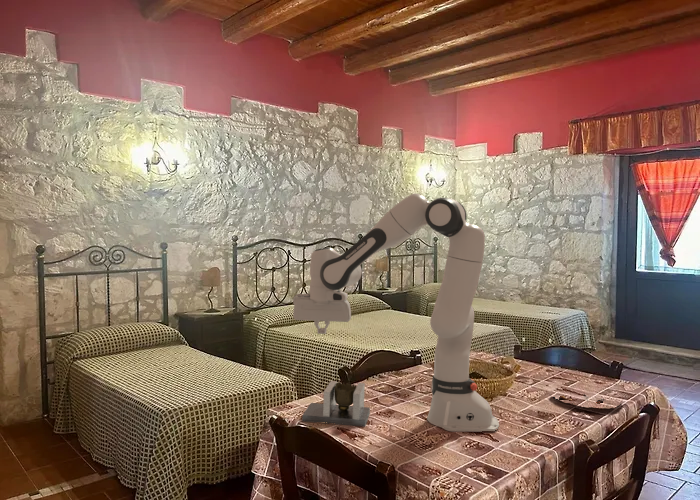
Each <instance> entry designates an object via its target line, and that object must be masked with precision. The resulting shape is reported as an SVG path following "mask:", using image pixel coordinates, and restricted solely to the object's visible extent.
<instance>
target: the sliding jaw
mask: <svg viewBox="0 0 700 500" xmlns="http://www.w3.org/2000/svg"><path fill="white" fill-rule="evenodd" d="M336 383H337V384H338V381H336V380H335V381H334V380H331V381H330V382H329V384H328V385H327V386H326V388H325V389H324V391H323V403H322V404H323V416H326V417H330V415H331V413H332V411H333V409H334V408H335V406H336V405H337V403H336V401H335V394H334V385H335V384H336Z"/></svg>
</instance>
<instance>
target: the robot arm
mask: <svg viewBox="0 0 700 500" xmlns="http://www.w3.org/2000/svg"><path fill="white" fill-rule="evenodd" d="M466 210H467V209H465V207H464V206H463V204H461V203H460V202H459V201H458V200H456V199H454V198H450V197H438V198H436V199H435V198H434V200H432V201H430V200H428V199H427V198H426V197H425V196H424V195H423V194H420V193H412V194H410V195H408V196H406V197H404V199H402V200H400V201H399V202H397V203H396V204H395V205H394V206H393V207H392V208H390V209H389V210H388V211H386V212H385V214H384V215H383V216H382V217H381V218H380V220H378V221H377V223H376V224H375V225H374V226H373V227H372V228H370V229H369V231H368V232H367V233H366V234H365V235H364V236H362V237H361V238H360V239H359V240H358V241H356V242H355V243H354V244H353V245H352V246H351V247H349V248H348V249H347V250H346V251H344V253H342V254H341V253H339V252H337V251H336V250H335V249H334V248H333V247H322V248H318V249H314V250H313V251H312V253H311V256H310V263H309V264H310V265H309V276H310V283H309V293H297V294H295V295H293V299H292V302H293V303H292V304H293V313H292V318H293V319H294V320H295V321H309V322H310V321H311V322H312V321H313V322H314V323H313V324H314V326H315V328H316V329H317V330H316V331H317V334H318V335H326V334H327V329H328V327H329V325H330V324H331V323H330V322H336V323H337V322H340V323H342V322H343V323H348V322H349V321H351V319H352V309H351V303H350V301H349V300H348V298H349V296H348V293H347V292H345V291H341V289H343V288H346V287H349V286H352V285H355V284H356V283H358V282H359V281H360V280H361V278H362V275H363V269H362V264H363V263H365V262H366V261H367V260H368V259H370V258H371V257H372V256H373V255H375V254H377V253H379V252H381V251H384V250H387V249H391V248H394V247H397V246H398V245H400V244H403V243H404V242H405V241H406V240H408V239H409V238H411V236H413V235H414V234H415V233H416V232H417V231H418V230H420V229H421V228H422V227H424V226H429V228H430V229H432V230H433V231H435V232H437V233H439V234H440V235H443V236H445V238H448V240H449V241H448V242H449V244H448V245H449V246H448V250H447V251H448V252H447V257H446V261H445V264H444V265H445V266H444V272H443V276H442V277H443V278H442V280H441V284H440V286H439V289H438V293H437V297H436V298H435V303H434V307H433V310H432V313H431V317H430V324H429V325H430V327H431V330H432V332H434V334H435V335H437V340H436V346H435V350H434V362H433V363H434V364H433V365H434V366H433V375H432V378H431V394H432V396H431V397H432V398H431V402H430V406H429V407H430V408H429V411H428V415H427V417H426V419H427V421H428V422H429V423H430V424H432V425H434V426H436V427H439V428H442V429H443V430H445V431H448V432H469V433H471V432H473V433H475V432H476V433H477V432H478V433H479V432H480V433H481V432H482V431H495V430H496V429H498V427H499V428H500V423H499V419H498V418H497V417H496V416H494V415H493V412H492V407H491V405H490V403H489V402H488V400H487V399H485V398H484V397H483V396H481V395H480V394H479V393H478V392H477V390H478V385H477V383H476V382H475V380H474V379H473V378H470V375H469V374H470V356H471V355H470V354H471V347H472V341H473V333H474V324H475V323H474V322H475V310H474V307H473V306H472V305H473V301H474V299H475V298H474V297H475V294H476V291H477V288H478V287H479V281H480V276H481V270H482V266H483V261H484V254H485V246H486V245H485V240H486V239H485V232H484V230H483V229H482V228H481V227H480V226H478V225H476V224H473V223H469V222H467V211H466ZM320 322H324V325H325V326H324V327H321V326H320V325H319V324H320ZM498 430H499V429H498ZM495 432H496V431H495ZM482 433H483V432H482Z"/></svg>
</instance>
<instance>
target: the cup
mask: <svg viewBox="0 0 700 500" xmlns="http://www.w3.org/2000/svg"><path fill="white" fill-rule="evenodd" d="M356 387H357V385H355V384H351V382H350V383H348V382H346V383H345V382H343V383H341V382H337V383H336V384H335V385H334V394H335V401H336V405H338V408H339V410H341V411H347V410H349V406H353V394H354V391H355V389H356Z"/></svg>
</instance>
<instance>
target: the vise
mask: <svg viewBox="0 0 700 500" xmlns="http://www.w3.org/2000/svg"><path fill="white" fill-rule="evenodd" d="M356 386H357V387H356V389H355V391H354V394H353V404H352V405H350V406H349V410H347V411H341V410H339V408H338V404H336V406H335V408H334V409H333V411H332V413H331V415H330V417H326V416H323V403H316V402H310V404H309V405H308V406H307V408H306V410H304V412H303V413H302V416H301V418H302V422H307V423H308V422H309V423H317V422H325V423H324V424H329V423H333V424H332V425H341V424H342V425H343V426H352V427H353V426H355V427H363V428H364V427H366V425H367V423H368V420H369V417H370V414H371V407H369V406H368V407H367V406H365V391H366V390H365V387H366V383H364V382H358V384H357V385H356ZM326 422H327V423H326ZM334 423H335V424H334Z"/></svg>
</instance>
